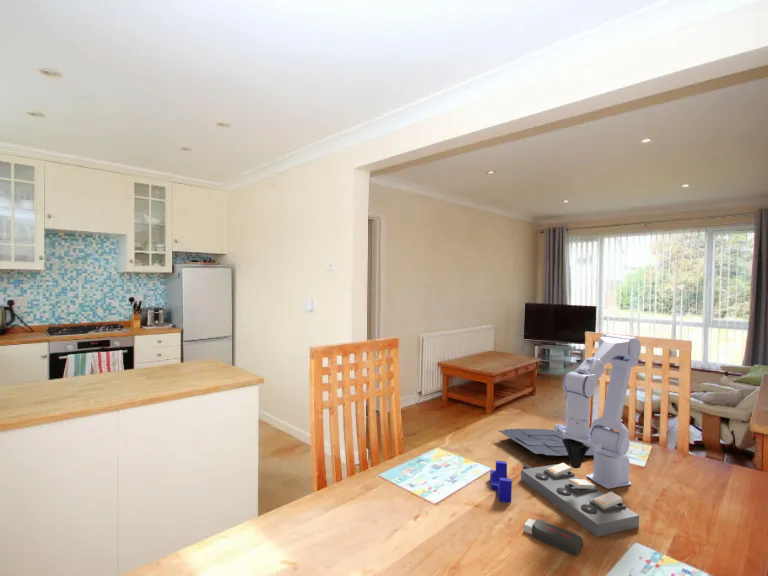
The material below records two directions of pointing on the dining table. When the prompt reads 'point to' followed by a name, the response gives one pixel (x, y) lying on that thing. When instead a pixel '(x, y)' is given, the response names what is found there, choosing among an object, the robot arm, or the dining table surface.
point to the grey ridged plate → (540, 441)
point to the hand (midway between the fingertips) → (575, 467)
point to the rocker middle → (581, 483)
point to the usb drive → (554, 536)
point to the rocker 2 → (607, 500)
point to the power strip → (579, 502)
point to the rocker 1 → (559, 469)
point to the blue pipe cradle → (501, 481)
